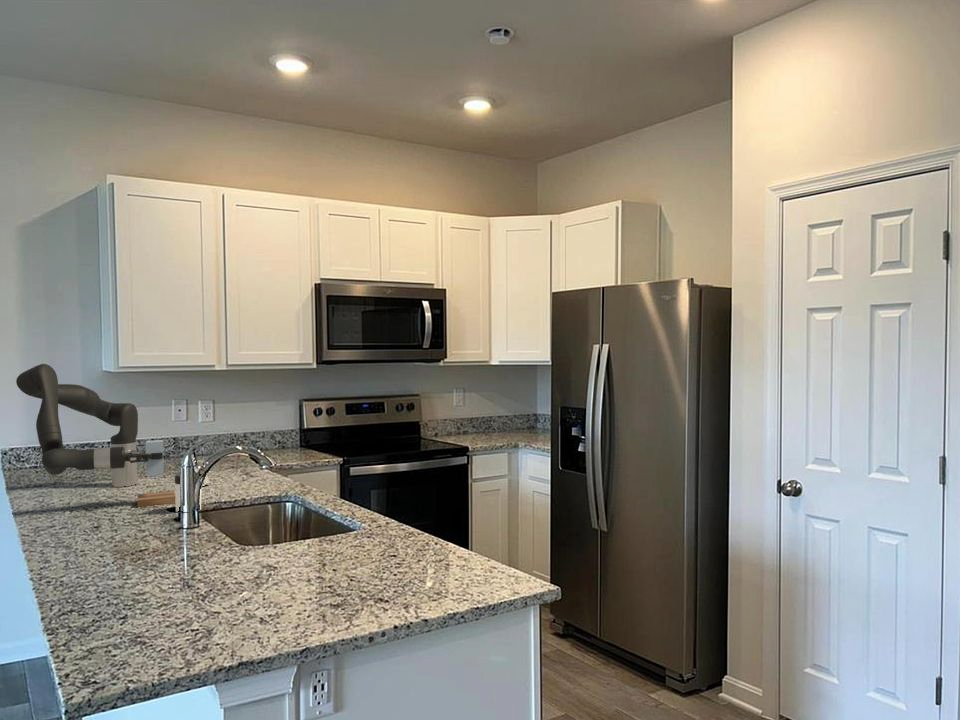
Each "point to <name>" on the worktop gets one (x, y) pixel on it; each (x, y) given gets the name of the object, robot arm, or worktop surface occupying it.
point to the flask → (206, 475)
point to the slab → (156, 498)
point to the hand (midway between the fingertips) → (162, 454)
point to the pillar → (154, 465)
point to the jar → (177, 492)
